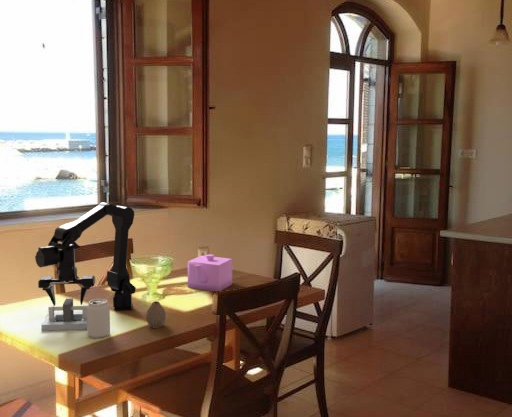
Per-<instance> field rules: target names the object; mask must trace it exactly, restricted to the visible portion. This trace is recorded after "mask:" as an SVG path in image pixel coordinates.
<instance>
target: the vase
mask: <svg viewBox="0 0 512 417" xmlns="http://www.w3.org/2000/svg"><path fill="white" fill-rule="evenodd" d="M145 319H146V323H147V325H148V326H149V327H150V328H152V329H153V328H154V329H159V328H162V327H163V325H165V324H166V320H167V313H166V310H165V308H164V307H163V305H162V304H161V303H160V302H159V301H152V303H151V304H150V306H149V307H148V309H147V311H146V316H145Z"/></svg>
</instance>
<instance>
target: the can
mask: <svg viewBox="0 0 512 417" xmlns="http://www.w3.org/2000/svg"><path fill="white" fill-rule="evenodd" d="M86 305H87V329H86V330H87V336H88V337H90V338H92V339H102V338H106V337H108V336H109V334H111V321H110V320H111V314H110V313H111V311H110V304H109V303H108V300H107V299H106V298H105V299H104V298H94V299H91V300H89V301H88V304H86Z"/></svg>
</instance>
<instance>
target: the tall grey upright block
mask: <svg viewBox="0 0 512 417" xmlns="http://www.w3.org/2000/svg"><path fill="white" fill-rule="evenodd" d="M62 306H63V310H62V312H63V320H62V322H74V313H73V312H74V310H71V307H72V306H74V298H65V300H64V301H63V304H62Z"/></svg>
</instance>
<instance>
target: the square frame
mask: <svg viewBox="0 0 512 417" xmlns="http://www.w3.org/2000/svg"><path fill="white" fill-rule="evenodd" d="M87 305H88V304H82V305H73V306H72V307H71V310H73V313H74V320H80V321H74V320H73V321H71V322H63V305H61V306H54V305H48V313H47V315H46V317H44V320H43V321H42V324H41V331H42V332H43V331H61V330H62V331H64V330H66V331H68V330H87ZM57 311H58V312H57ZM59 311H62V312H59Z"/></svg>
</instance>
